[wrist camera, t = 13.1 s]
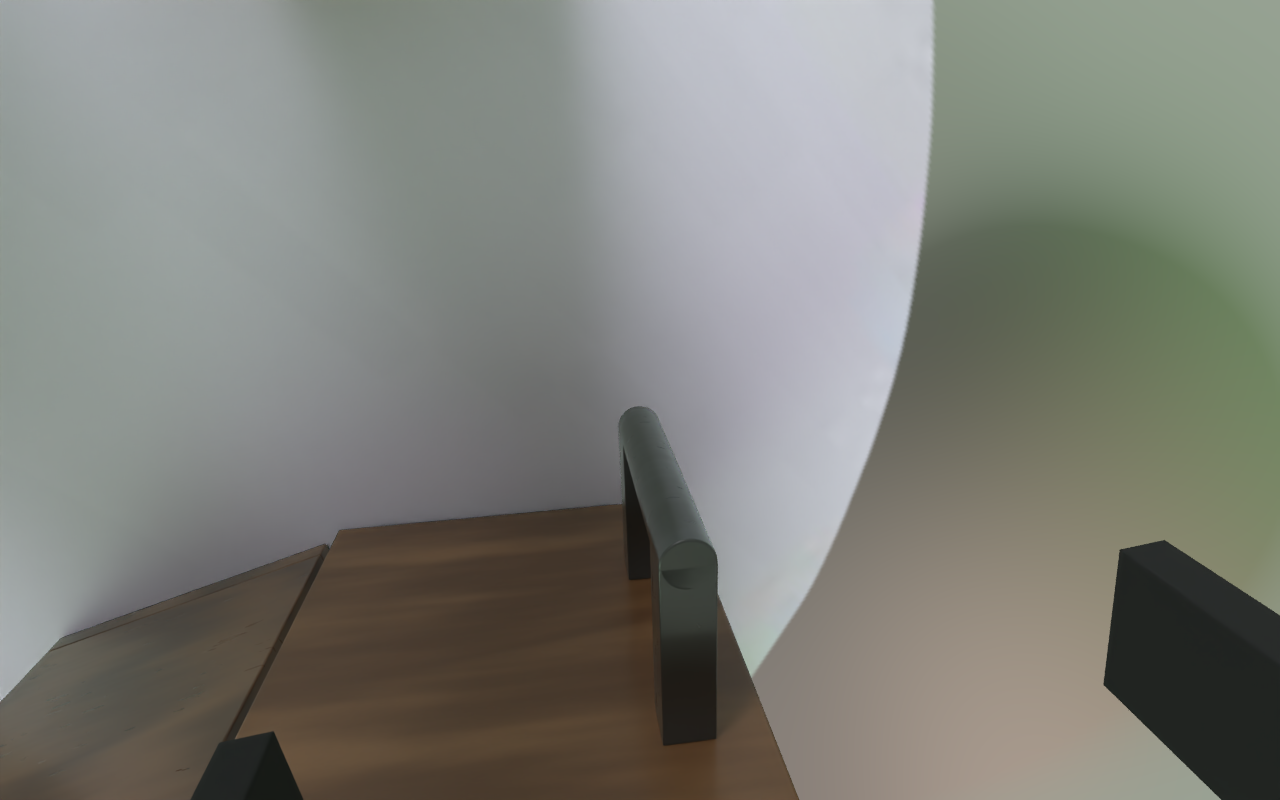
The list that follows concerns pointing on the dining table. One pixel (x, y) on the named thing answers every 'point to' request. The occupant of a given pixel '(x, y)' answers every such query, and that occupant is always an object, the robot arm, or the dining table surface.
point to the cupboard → (149, 691)
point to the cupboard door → (525, 657)
